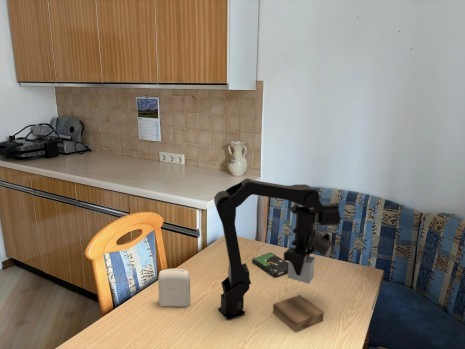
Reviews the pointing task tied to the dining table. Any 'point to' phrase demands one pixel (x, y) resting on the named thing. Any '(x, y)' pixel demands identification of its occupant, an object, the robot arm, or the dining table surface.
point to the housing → (303, 271)
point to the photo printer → (174, 287)
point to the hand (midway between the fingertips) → (300, 271)
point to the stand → (298, 313)
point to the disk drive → (271, 264)
